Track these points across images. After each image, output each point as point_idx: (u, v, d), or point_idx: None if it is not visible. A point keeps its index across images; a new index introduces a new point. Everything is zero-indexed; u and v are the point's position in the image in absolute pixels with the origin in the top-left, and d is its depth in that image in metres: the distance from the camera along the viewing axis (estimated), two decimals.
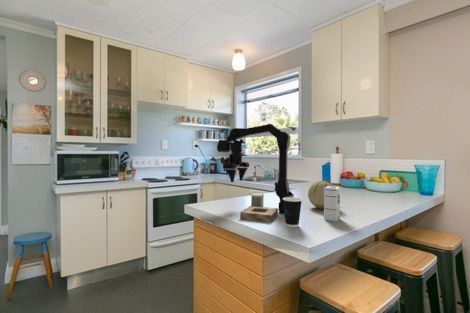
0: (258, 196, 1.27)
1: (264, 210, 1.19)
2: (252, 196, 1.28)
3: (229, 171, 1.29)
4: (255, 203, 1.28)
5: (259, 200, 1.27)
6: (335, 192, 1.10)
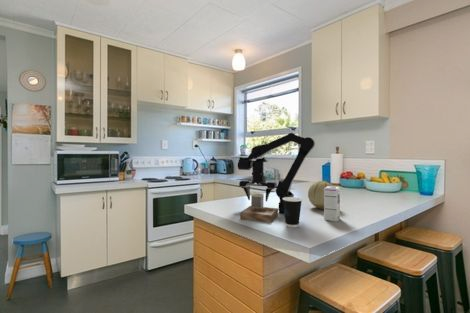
0: (258, 196, 1.27)
1: (264, 210, 1.19)
2: (252, 196, 1.28)
3: None
4: (255, 203, 1.28)
5: (259, 200, 1.27)
6: (335, 192, 1.10)
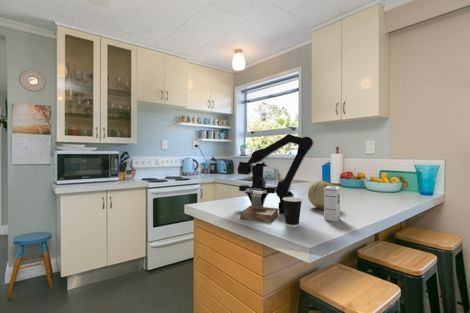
0: (258, 196, 1.27)
1: (264, 210, 1.19)
2: (252, 196, 1.28)
3: None
4: (255, 202, 1.28)
5: (259, 200, 1.27)
6: (335, 192, 1.10)
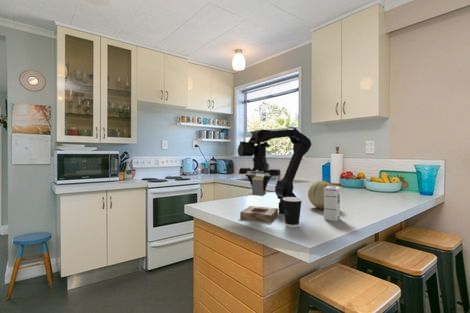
0: (260, 179, 1.15)
1: (264, 210, 1.19)
2: (253, 179, 1.16)
3: None
4: (256, 186, 1.16)
5: (261, 184, 1.15)
6: (335, 192, 1.10)
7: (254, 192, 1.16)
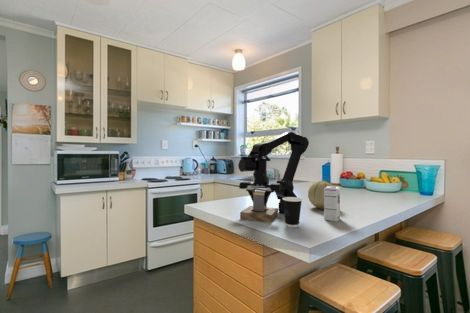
0: (261, 194, 1.13)
1: None
2: (254, 194, 1.15)
3: None
4: (257, 201, 1.14)
5: (262, 199, 1.13)
6: (335, 192, 1.10)
7: (255, 208, 1.14)
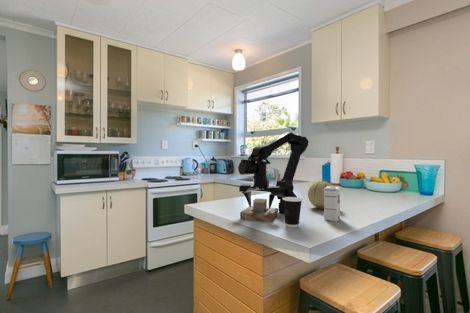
0: (261, 202, 1.13)
1: None
2: (254, 202, 1.15)
3: None
4: (257, 209, 1.14)
5: (262, 206, 1.13)
6: (335, 192, 1.10)
7: None
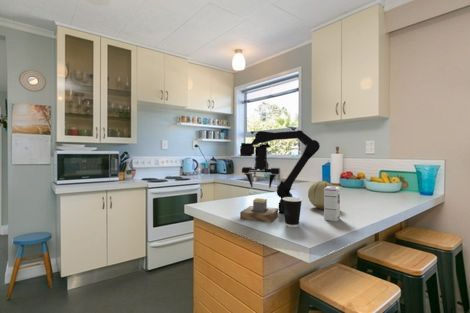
0: (261, 202, 1.13)
1: None
2: (254, 202, 1.15)
3: None
4: (257, 209, 1.14)
5: (262, 206, 1.13)
6: (335, 192, 1.10)
7: None
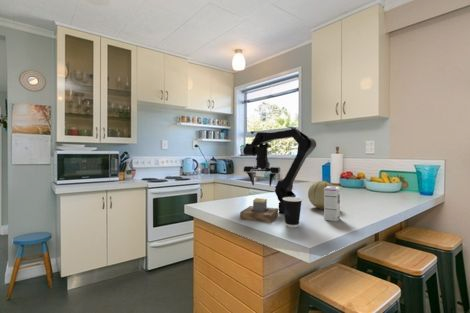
0: (261, 202, 1.13)
1: None
2: (254, 202, 1.15)
3: None
4: (257, 209, 1.14)
5: (262, 206, 1.13)
6: (335, 192, 1.10)
7: None
